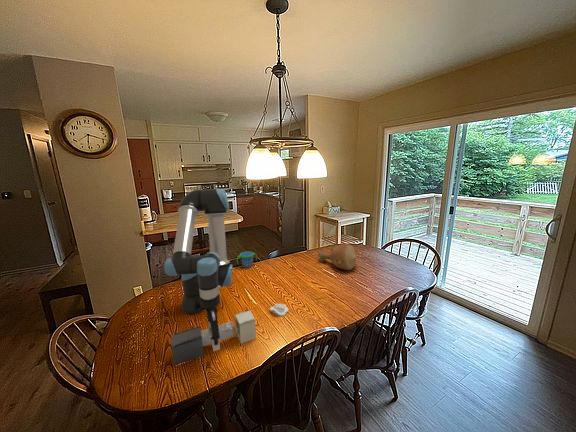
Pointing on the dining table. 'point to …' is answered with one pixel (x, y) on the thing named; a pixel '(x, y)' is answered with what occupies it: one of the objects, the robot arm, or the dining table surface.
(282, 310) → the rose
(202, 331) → the pale grey rectangular box
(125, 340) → the dining table surface
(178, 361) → the dark grey rectangular box
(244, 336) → the socket
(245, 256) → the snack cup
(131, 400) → the dining table surface
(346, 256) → the jug
